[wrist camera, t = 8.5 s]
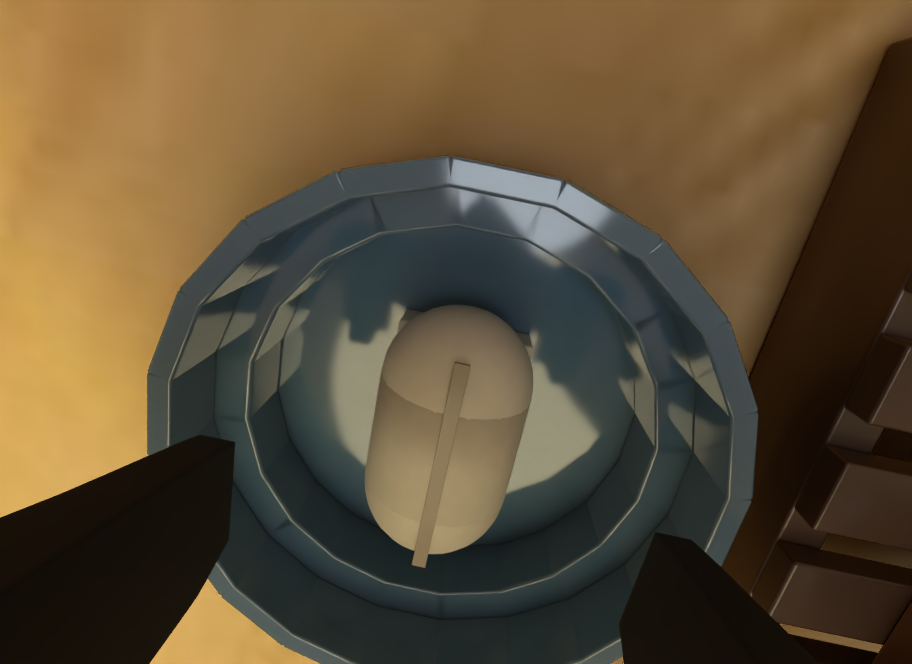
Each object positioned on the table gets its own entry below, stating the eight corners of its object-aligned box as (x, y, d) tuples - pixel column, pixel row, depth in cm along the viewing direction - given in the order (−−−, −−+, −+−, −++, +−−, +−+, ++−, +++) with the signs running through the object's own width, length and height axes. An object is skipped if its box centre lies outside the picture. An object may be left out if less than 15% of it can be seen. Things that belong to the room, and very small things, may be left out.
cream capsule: (490, 504, 14) (489, 604, 11) (372, 479, 14) (337, 571, 11) (543, 304, 12) (560, 354, 9) (407, 276, 12) (377, 314, 9)
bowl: (605, 603, 16) (641, 741, 12) (229, 523, 16) (146, 636, 12) (752, 218, 12) (873, 243, 8) (255, 114, 12) (144, 90, 8)
